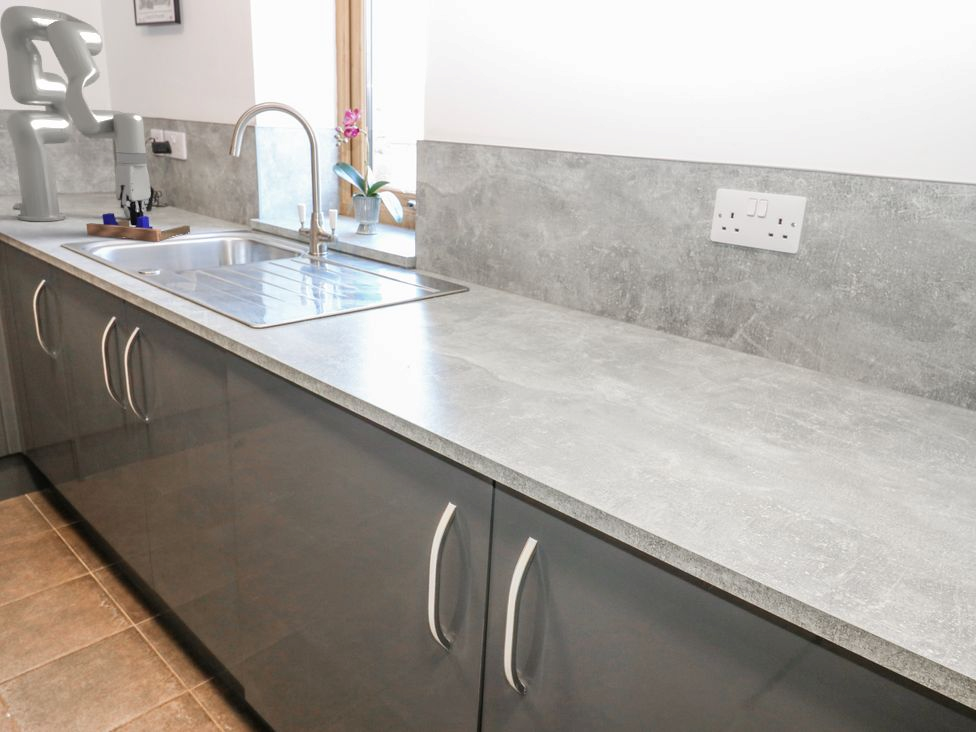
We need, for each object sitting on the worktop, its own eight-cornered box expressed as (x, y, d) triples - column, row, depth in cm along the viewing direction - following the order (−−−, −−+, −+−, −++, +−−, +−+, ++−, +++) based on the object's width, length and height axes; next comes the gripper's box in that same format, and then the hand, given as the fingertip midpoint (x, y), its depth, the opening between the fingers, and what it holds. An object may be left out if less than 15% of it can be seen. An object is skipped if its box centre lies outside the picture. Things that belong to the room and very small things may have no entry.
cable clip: (153, 237, 212) (151, 216, 211) (144, 239, 208) (142, 217, 206) (114, 233, 214) (112, 212, 212) (104, 235, 210) (102, 214, 208)
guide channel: (87, 234, 208) (86, 223, 207) (124, 226, 224) (123, 216, 223) (157, 241, 205) (156, 230, 204) (190, 232, 221) (189, 222, 220)
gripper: (135, 157, 214) (140, 220, 220) (102, 159, 200) (109, 227, 206) (159, 159, 214) (164, 223, 219) (127, 161, 200) (134, 230, 205)
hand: (137, 225), depth 213 cm, fingers closed
